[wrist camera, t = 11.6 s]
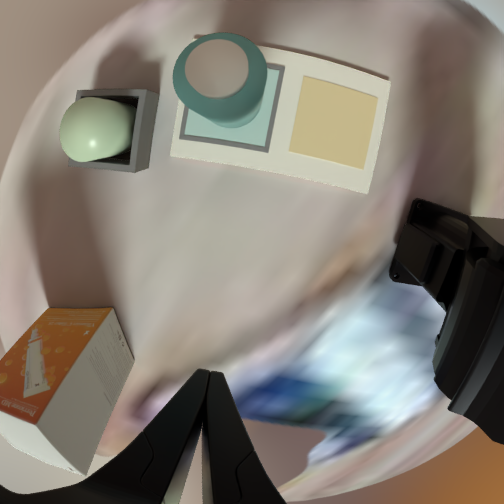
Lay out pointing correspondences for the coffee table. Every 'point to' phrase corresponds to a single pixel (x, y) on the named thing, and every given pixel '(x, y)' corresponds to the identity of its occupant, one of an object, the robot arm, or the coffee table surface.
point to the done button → (97, 129)
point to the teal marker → (222, 79)
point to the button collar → (140, 134)
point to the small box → (63, 385)
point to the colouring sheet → (298, 124)
